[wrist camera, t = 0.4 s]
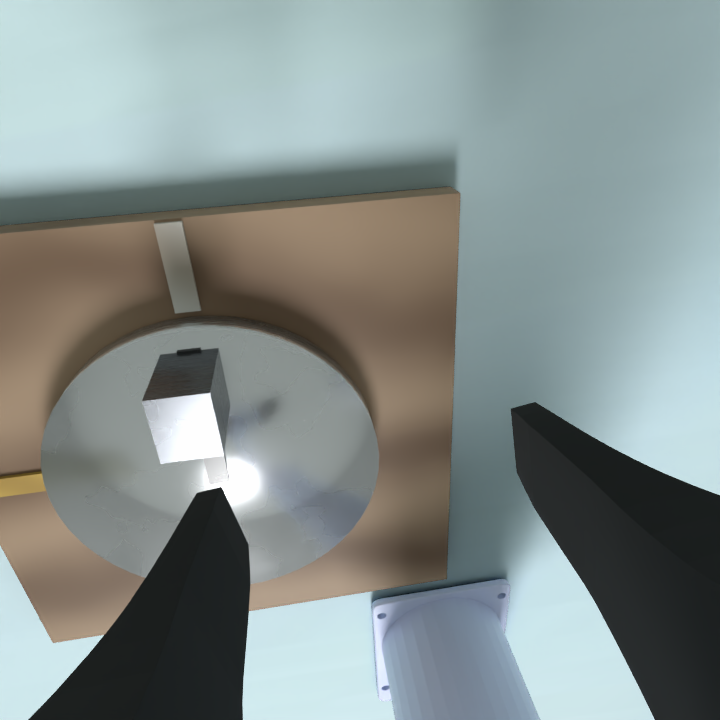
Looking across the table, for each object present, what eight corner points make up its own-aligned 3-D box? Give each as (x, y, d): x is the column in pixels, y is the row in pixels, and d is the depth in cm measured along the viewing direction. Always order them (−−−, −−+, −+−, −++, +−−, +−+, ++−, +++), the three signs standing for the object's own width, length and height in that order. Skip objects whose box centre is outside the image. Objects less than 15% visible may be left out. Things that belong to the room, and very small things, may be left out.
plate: (440, 560, 29) (447, 581, 28) (61, 621, 27) (51, 646, 26) (450, 186, 20) (461, 193, 19) (-135, 237, 18) (-164, 249, 17)
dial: (379, 543, 26) (397, 620, 23) (105, 585, 25) (76, 674, 21) (366, 297, 20) (388, 348, 16) (-1, 336, 19) (-67, 401, 15)
